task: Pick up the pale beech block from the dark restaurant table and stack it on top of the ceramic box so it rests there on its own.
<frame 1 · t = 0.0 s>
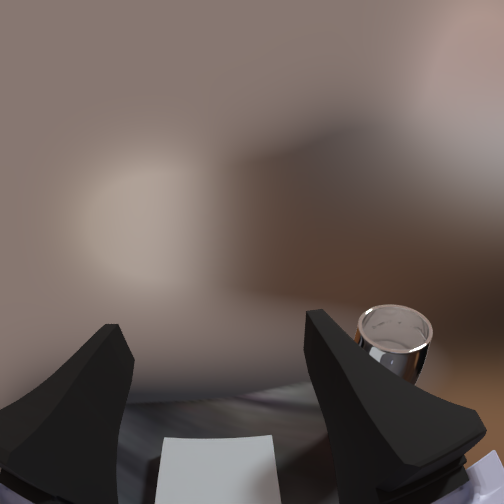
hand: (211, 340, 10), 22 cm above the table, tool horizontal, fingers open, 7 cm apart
ceramic box: (222, 494, 19), on the table
beer glass: (362, 427, 25), on the table
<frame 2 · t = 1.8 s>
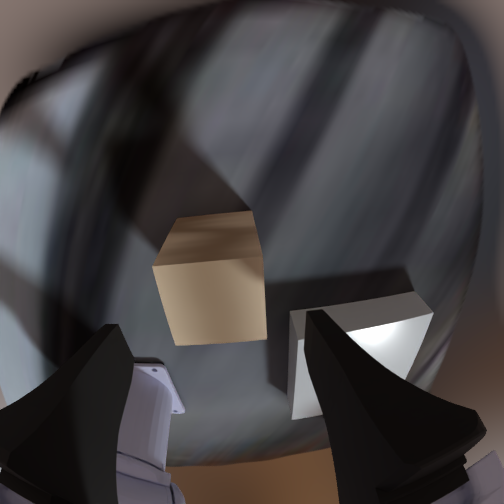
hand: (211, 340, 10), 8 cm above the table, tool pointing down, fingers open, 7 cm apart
ceramic box: (347, 347, 23), on the table
beech block: (218, 248, 17), on the table
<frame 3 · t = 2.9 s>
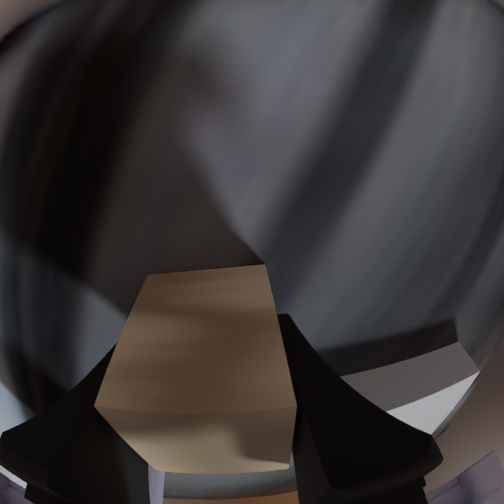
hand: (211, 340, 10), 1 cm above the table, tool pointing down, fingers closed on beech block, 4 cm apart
ceramic box: (373, 404, 17), on the table
beech block: (213, 316, 11), on the table, touching gripper
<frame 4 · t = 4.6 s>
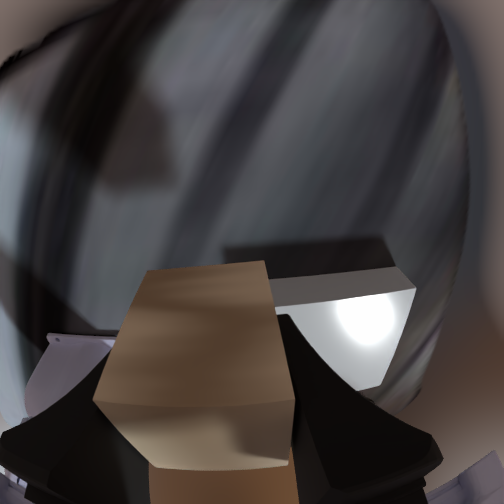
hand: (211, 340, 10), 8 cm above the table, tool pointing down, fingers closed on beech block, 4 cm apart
ceramic box: (323, 327, 22), on the table
beech block: (212, 313, 11), point 7 cm above the table, touching gripper
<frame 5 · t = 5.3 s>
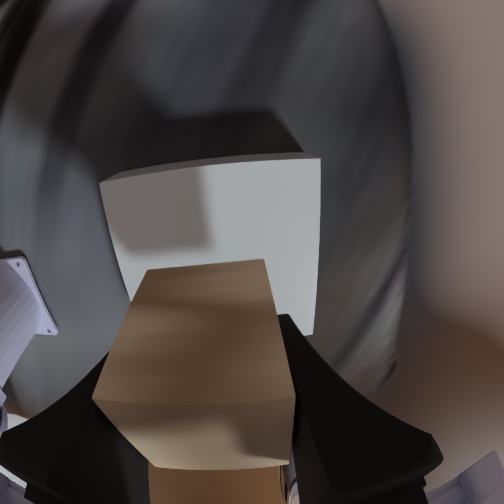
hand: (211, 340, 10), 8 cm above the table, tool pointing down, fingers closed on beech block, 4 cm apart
ceramic box: (219, 243, 18), on the table
beech block: (212, 311, 11), point 7 cm above the table, touching gripper
beer glass: (301, 385, 25), on the table
when the fingers open (6 cm above the table, at t = 6.1 s): beech block drops 2 cm, resting on ceramic box.
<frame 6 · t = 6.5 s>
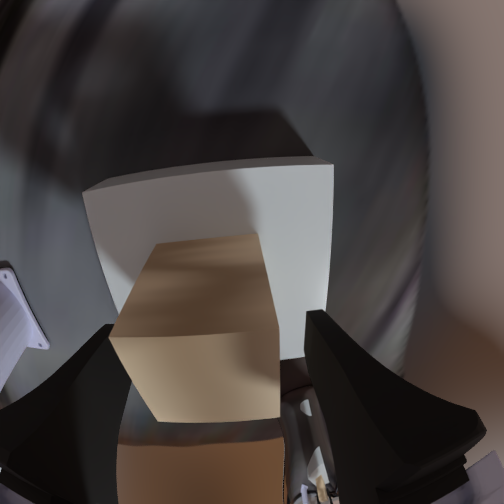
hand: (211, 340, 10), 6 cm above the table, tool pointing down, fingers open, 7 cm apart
ceramic box: (217, 256, 16), on the table, touching beech block
beech block: (212, 282, 13), point 3 cm above the table, touching ceramic box
beer glass: (305, 401, 23), on the table
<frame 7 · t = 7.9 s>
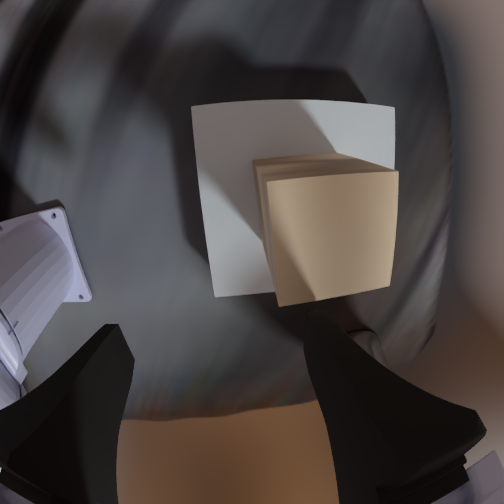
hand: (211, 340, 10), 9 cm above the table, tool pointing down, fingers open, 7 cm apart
ceramic box: (292, 187, 18), on the table
beech block: (299, 197, 14), point 3 cm above the table
beer glass: (350, 351, 25), on the table
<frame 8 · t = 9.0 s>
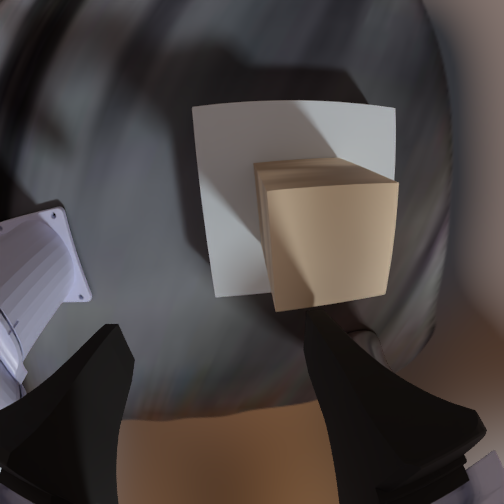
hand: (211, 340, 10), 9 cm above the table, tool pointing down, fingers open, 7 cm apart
ceramic box: (292, 188, 18), on the table, touching beech block
beech block: (299, 201, 14), point 3 cm above the table, touching ceramic box
beer glass: (350, 351, 25), on the table
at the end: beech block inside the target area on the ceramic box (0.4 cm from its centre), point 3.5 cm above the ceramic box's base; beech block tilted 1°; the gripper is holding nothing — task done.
